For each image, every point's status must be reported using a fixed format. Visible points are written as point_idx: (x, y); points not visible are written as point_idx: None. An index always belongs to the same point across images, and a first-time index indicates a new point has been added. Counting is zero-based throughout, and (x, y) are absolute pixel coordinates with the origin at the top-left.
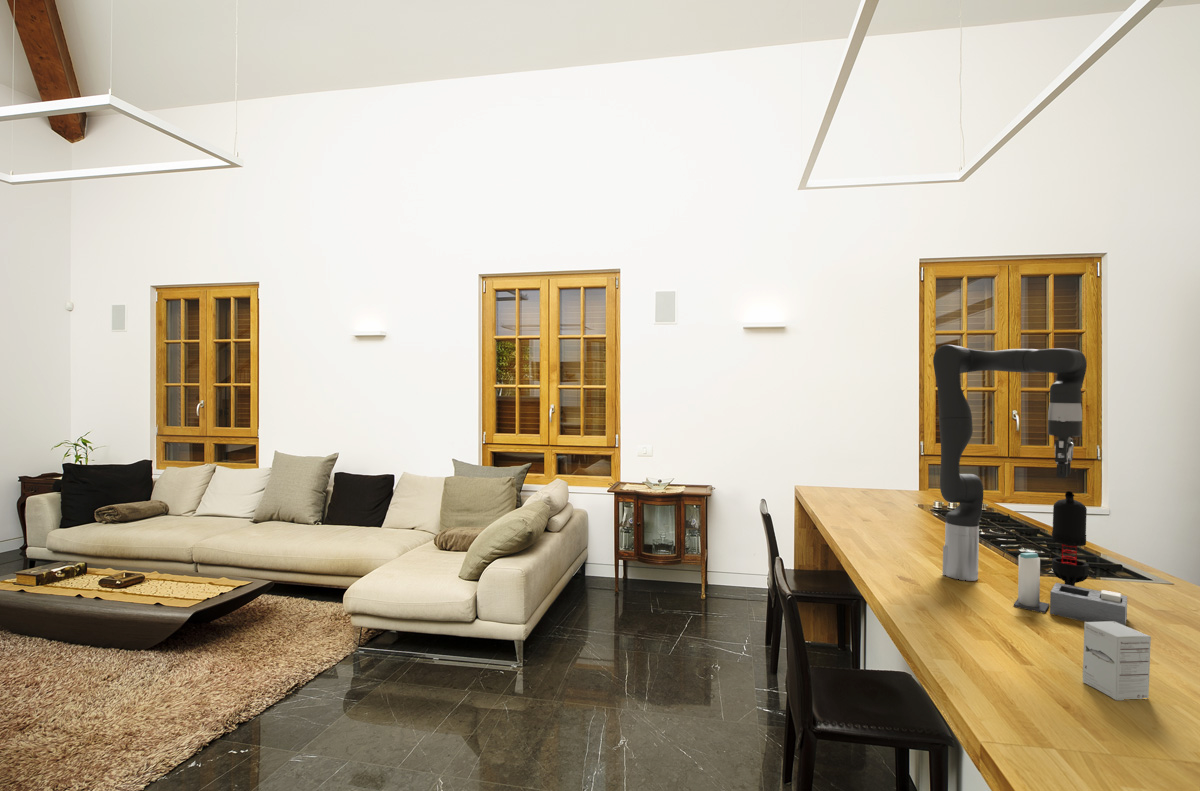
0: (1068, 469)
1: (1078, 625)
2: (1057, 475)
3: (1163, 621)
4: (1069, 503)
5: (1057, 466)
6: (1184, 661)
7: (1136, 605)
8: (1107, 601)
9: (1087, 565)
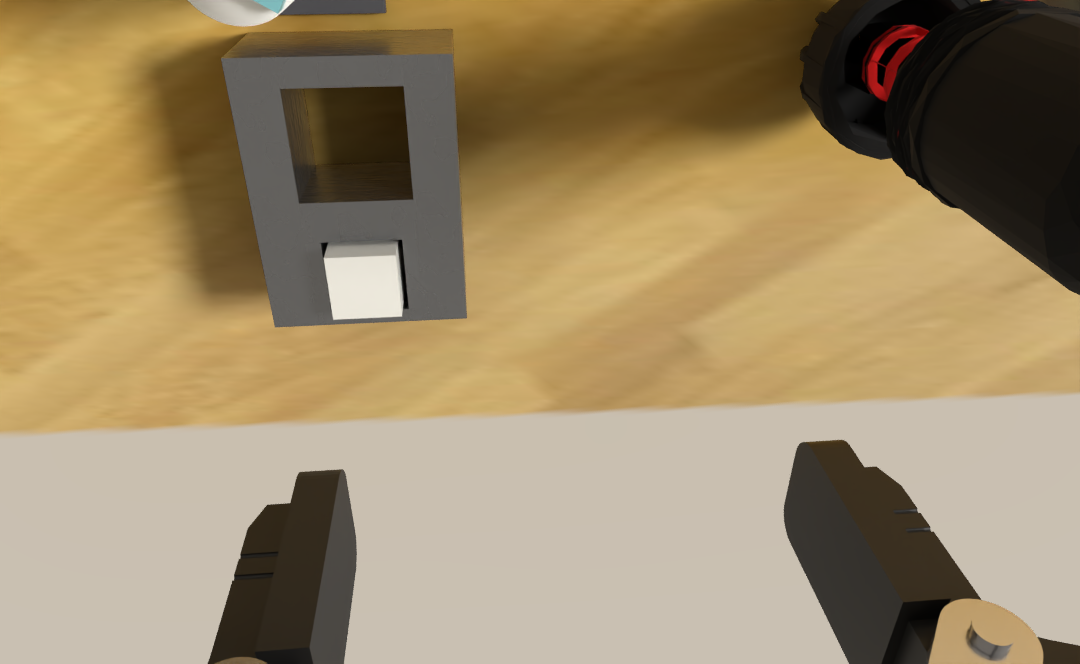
0: (818, 574)
1: (192, 148)
2: (297, 491)
3: (538, 357)
4: None
5: (266, 618)
6: (123, 418)
7: (695, 281)
8: (295, 271)
9: (868, 155)
